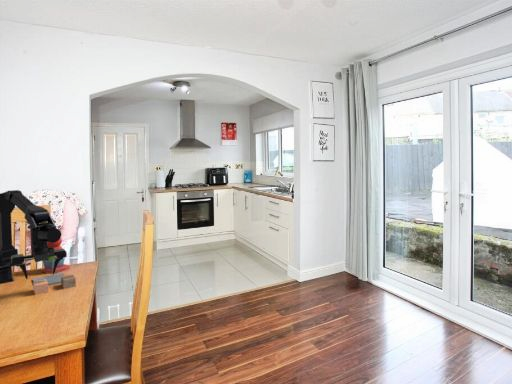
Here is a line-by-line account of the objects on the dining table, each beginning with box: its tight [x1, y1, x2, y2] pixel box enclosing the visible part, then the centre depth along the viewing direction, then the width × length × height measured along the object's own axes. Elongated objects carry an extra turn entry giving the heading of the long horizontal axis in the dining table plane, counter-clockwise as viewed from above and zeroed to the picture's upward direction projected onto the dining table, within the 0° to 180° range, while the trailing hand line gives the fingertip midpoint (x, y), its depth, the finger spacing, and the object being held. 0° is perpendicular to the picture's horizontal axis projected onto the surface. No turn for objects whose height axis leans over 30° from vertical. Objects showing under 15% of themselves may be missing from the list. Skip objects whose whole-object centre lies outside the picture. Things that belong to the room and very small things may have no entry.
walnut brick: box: [60, 274, 77, 290], centre depth 139 cm, size 6×4×4 cm
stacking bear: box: [42, 237, 71, 274], centre depth 158 cm, size 11×10×18 cm
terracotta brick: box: [32, 279, 49, 296], centre depth 132 cm, size 6×4×4 cm
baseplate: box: [32, 272, 66, 287], centre depth 144 cm, size 12×12×1 cm
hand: (40, 276), depth 132 cm, fingers open, 9 cm apart
